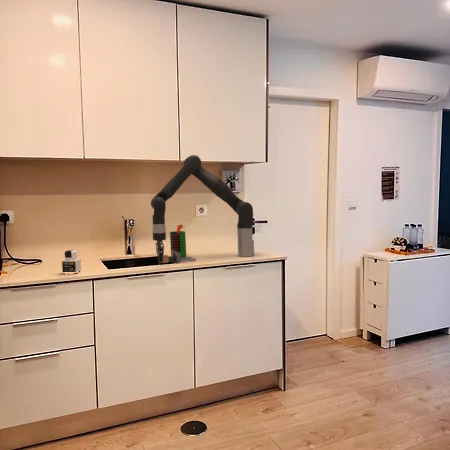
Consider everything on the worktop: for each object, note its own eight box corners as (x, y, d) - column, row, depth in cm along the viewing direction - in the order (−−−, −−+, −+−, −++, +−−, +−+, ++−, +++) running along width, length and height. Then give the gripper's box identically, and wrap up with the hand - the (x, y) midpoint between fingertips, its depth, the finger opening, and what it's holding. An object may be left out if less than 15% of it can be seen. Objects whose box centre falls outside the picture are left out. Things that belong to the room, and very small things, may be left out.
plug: (177, 260, 247) (176, 253, 247) (178, 261, 243) (178, 254, 243) (158, 261, 243) (158, 255, 243) (159, 263, 239) (159, 256, 239)
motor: (168, 257, 261) (166, 225, 259) (176, 255, 269) (175, 224, 267) (181, 258, 256) (180, 225, 254) (189, 255, 264) (188, 224, 262)
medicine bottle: (62, 274, 215) (61, 251, 214) (68, 271, 222) (66, 249, 221) (76, 274, 215) (74, 251, 214) (81, 271, 222) (80, 249, 221)
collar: (191, 258, 254) (190, 248, 253) (196, 261, 242) (195, 251, 242) (172, 260, 250) (172, 250, 249) (176, 263, 239) (176, 252, 238)
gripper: (150, 231, 246) (151, 259, 247) (154, 233, 232) (155, 263, 234) (163, 230, 248) (164, 258, 249) (168, 232, 235) (169, 262, 236)
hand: (160, 261), depth 241 cm, fingers closed on plug, 4 cm apart
